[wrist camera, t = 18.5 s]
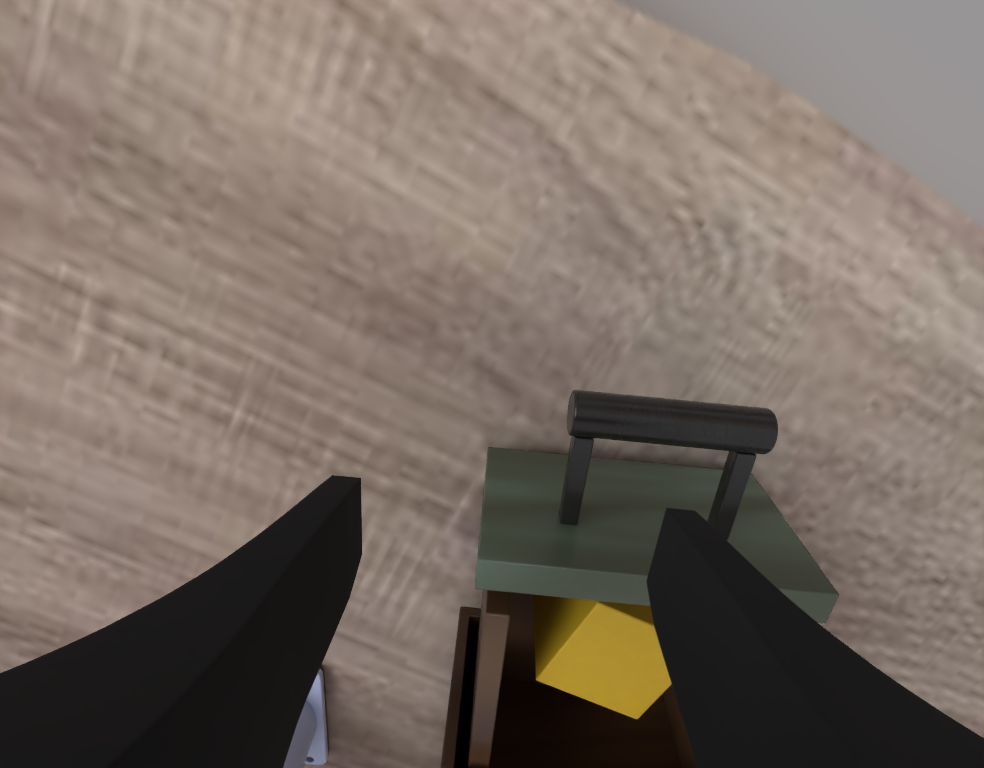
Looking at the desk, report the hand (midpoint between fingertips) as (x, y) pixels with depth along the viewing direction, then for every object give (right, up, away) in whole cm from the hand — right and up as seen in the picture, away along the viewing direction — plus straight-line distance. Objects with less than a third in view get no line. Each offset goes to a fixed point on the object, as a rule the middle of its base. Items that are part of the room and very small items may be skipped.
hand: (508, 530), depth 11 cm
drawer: (+5, -4, +12) cm, 13 cm away
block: (+4, -5, +12) cm, 13 cm away
